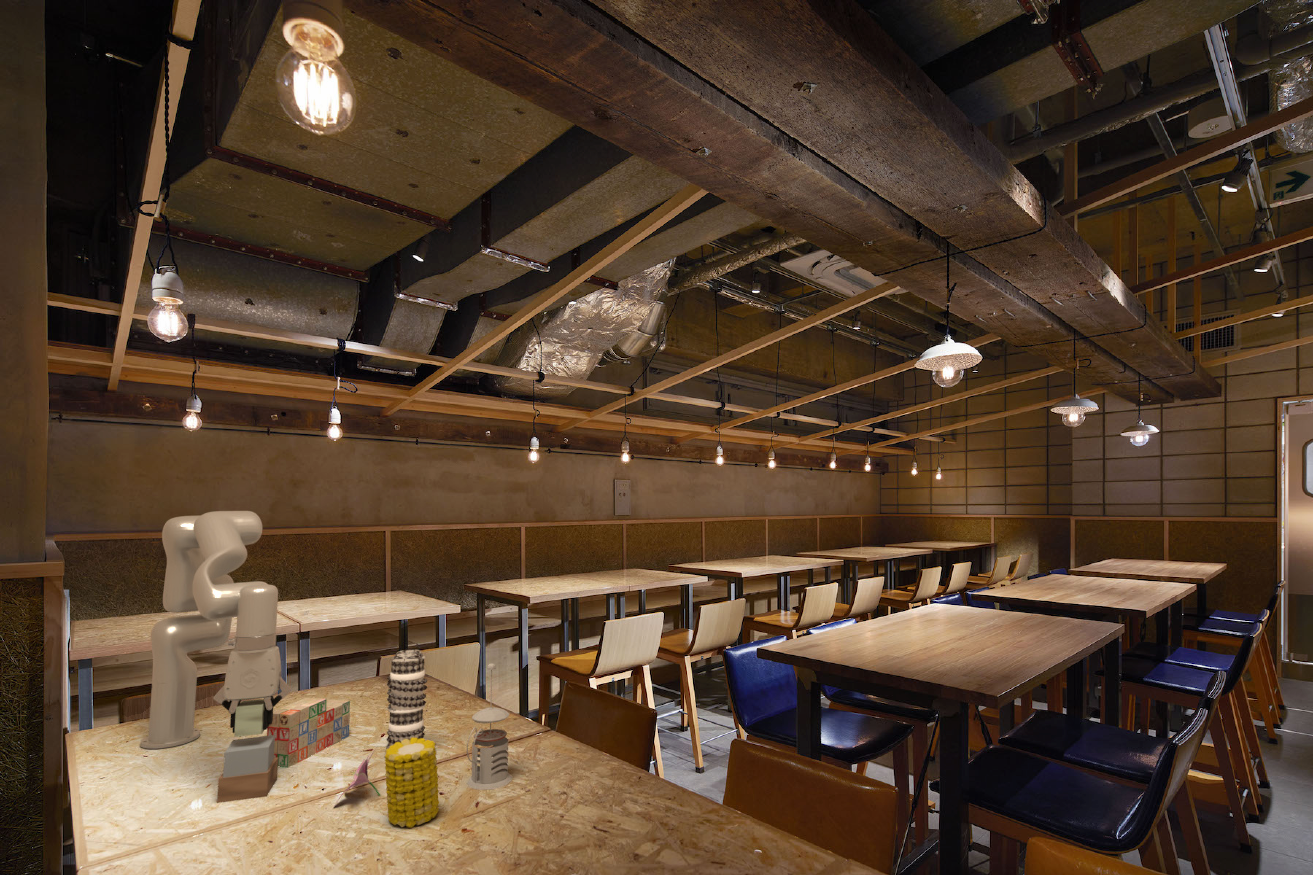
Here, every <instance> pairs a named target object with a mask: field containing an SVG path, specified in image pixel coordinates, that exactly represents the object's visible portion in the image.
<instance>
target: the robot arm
mask: <svg viewBox="0 0 1313 875" xmlns="http://www.w3.org/2000/svg"><path fill="white" fill-rule="evenodd" d="M262 533H263V523H262V520H261V518H260V516H259V515H258V514H257V513H256V512H255V511H250V510H218V511H217V510H215V511H208V512H206V513H203V514H201V515H184V516H183V515H182V516H176V517H173V518H172V517H171V518H170V519H168V520H167V521H166V522H165V524H164V525H163V528H162V531H161V539H162V544H163V549H164V551H165V555H166V569H165V577H164V586H163V594H162V604H163V605H162V606H163V608H164V610H165V611H167V612H169V613H173V614H175V613H176V614H177V613H179V614H180V613H191V612H199V613H197V614H196V613H195V614H186V615H179V616H172V617H167V618H164V619H161V620H159V621H158V622H157V623H155V624H154V625H153V627H152V629H151V632H150V643H151V645H150V646H151V652H152V653H151V654H152V675H151V676H152V678H151V691H150V692H151V693H150V694H151V695H150V709H149V720H148V721H149V723H148V735H146V736H145V737H143V738H142V739H141V740H140V743H139V746H140V747H141V748H143V749H147V750H148V749H149V750H151V749H154V750H155V749H156V750H157V749H166V748H172V747H177V746H181V745H184V744H187V743H190V742H194V741H195V740H197V739H198V738H200V736H201V733H202V732H201V729H199V728H195V711H196V699H197V698H196V696H197V680H198V668H197V665H196V663H195V662H194V661H193V660H192V659H191V658H190V657H189V656H188V653H192V652H194V651H195V652H196V651H202V650H208V649H215V648H219V647H222V646H224V645H225V644H226V643H227V645H228V646H232V647H233V649H234V650H231V651H230V652H229V657H228V660H227V666H226V671H225V676H224V677H225V679H224V685H223V686H222V687H221V688H220V689H219V690H218V691H217V692H216V694H215V695H214V696H213V701H215V702H217V703H218V704H220V705H221V706H222V707H224V708H225V709H226V711H228V713H229V714H230V722H229V724H230V725H229V728H230V729H232V733H233V734H235V716H236V707H237V706H238V705H239V704H240V703H241V702H242V701H245V700H257V699H264V702H265V706H266V707H265V711H264V715H263V730H264V731H267V728H268V727H269V725H270V724H272V721H273V711H274V707H275V706H276V705H278V703H279V702H280V701H281V700H283V699H284V698H286V697H287V696H288V695H289V694H290V693H291V692H292V687H290V685H288V683H287V682H286V681H285V680H284V679H283V678H282V662H281V653H280V648H279V646H277V645H276V644H277V643H276V641H277V622H278V620H277V618H278V602H279V601H278V600H279V599H278V598H279V590H278V588H277V587H276V585H273V584H268V583H267V582H265V581H258V580H257V581H247V582H234V580H233V578H232V577H231V576H230V575H229V573H232V572H233V571H235V570H237V569H239V568H240V567H241V566H242V565H243V564H244V563H245V561H246V560H247V558H248V550H247V548H246V546H248V545H253V544H255V543H257V542H258V541H259V540H260V539H261V536H262ZM233 618H236V631H235V633H236V634H235V637H233V638H230V635H231V629H232V622H233ZM280 690H281V692H280V693H278V691H280ZM277 693H278V694H277ZM276 694H277V695H276ZM275 695H276V696H275Z"/></svg>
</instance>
